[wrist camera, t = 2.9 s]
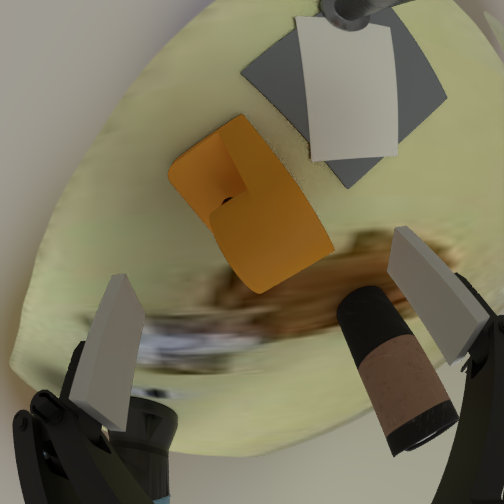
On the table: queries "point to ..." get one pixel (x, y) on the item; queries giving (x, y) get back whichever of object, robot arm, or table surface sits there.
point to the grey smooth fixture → (354, 12)
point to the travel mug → (394, 371)
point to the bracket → (250, 205)
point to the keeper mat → (349, 89)
